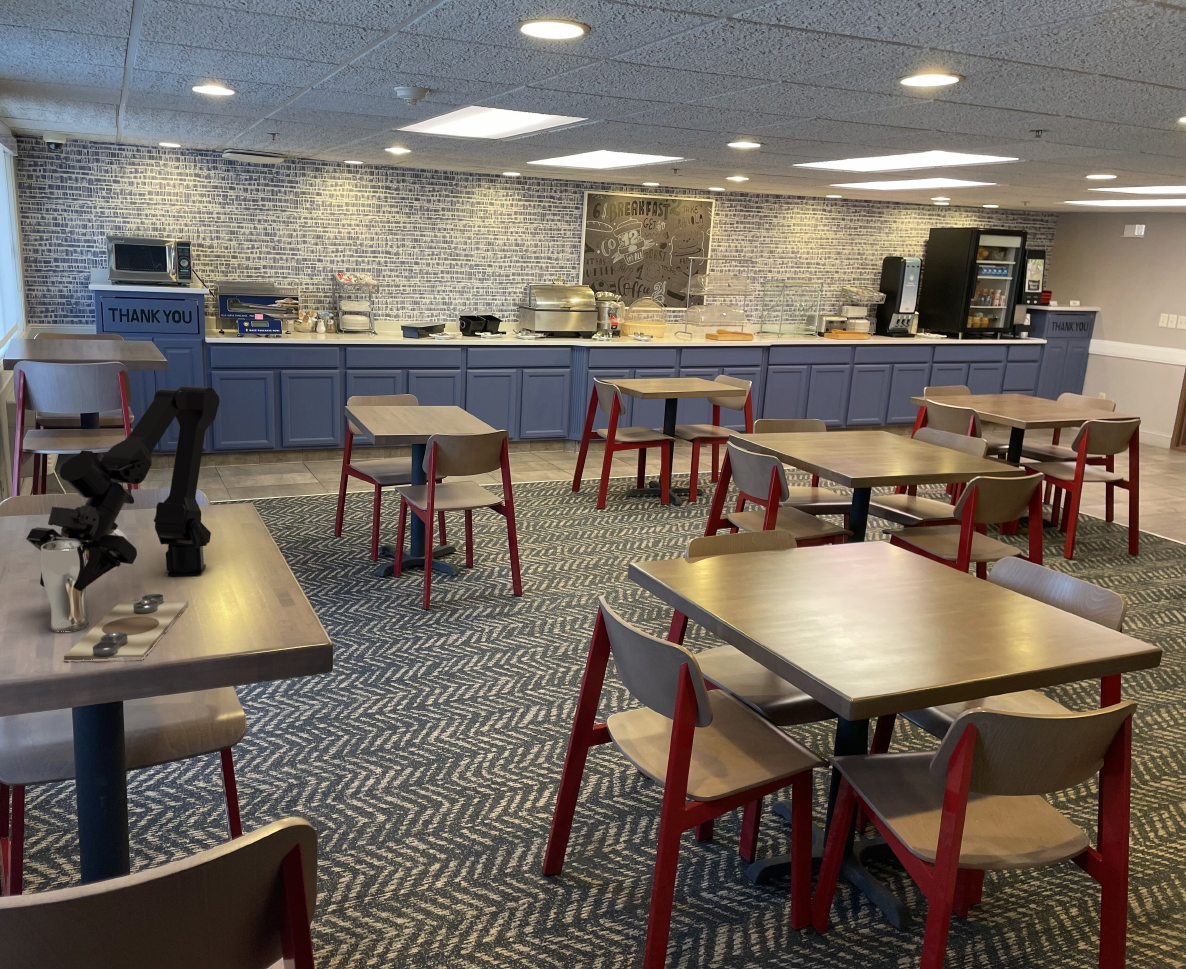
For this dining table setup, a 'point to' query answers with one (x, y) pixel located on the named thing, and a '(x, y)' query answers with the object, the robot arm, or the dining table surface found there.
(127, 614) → the board
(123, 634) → the set of metal discs
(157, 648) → the dining table surface
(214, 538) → the dining table surface
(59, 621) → the beer glass
